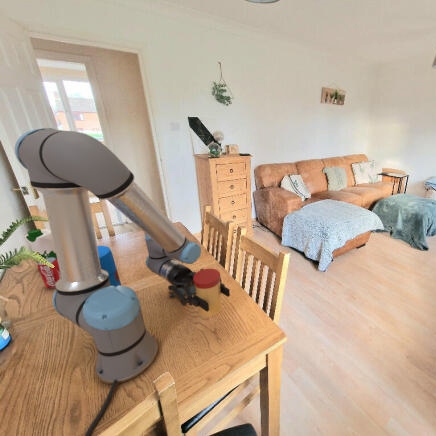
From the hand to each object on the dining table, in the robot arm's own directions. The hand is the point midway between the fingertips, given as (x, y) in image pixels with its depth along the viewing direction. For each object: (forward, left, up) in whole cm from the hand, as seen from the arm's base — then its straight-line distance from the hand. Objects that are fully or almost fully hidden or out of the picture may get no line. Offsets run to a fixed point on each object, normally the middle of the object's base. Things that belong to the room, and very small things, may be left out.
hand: (218, 300), depth 75 cm
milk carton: (+58, +75, -15) cm, 96 cm away
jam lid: (+4, +3, +7) cm, 8 cm away
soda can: (+43, +67, -15) cm, 81 cm away
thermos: (+21, +40, -15) cm, 48 cm away
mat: (+31, +15, -15) cm, 37 cm away
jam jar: (+4, +3, -6) cm, 8 cm away
